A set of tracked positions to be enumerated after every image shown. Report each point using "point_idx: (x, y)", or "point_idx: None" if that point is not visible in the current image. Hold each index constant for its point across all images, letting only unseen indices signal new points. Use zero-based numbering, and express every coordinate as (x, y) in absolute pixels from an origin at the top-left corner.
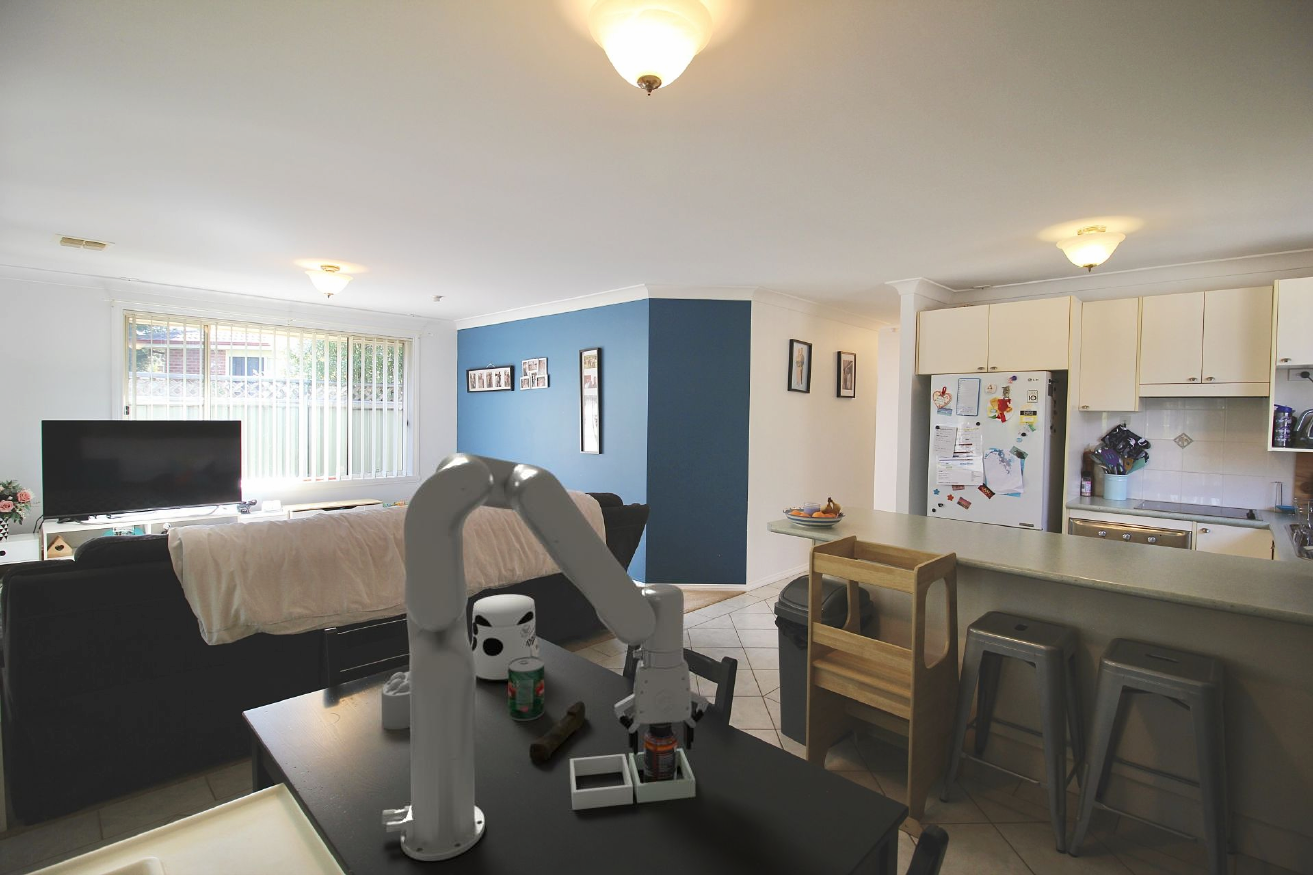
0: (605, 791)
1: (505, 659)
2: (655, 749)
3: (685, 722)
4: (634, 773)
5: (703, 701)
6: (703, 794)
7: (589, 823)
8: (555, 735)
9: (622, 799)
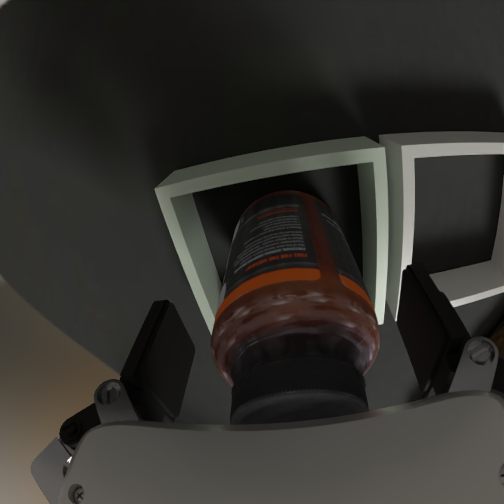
0: (475, 141)
1: None
2: (329, 273)
3: (164, 412)
4: (387, 224)
5: (45, 478)
6: (151, 184)
7: (479, 70)
8: (501, 355)
9: (414, 135)
